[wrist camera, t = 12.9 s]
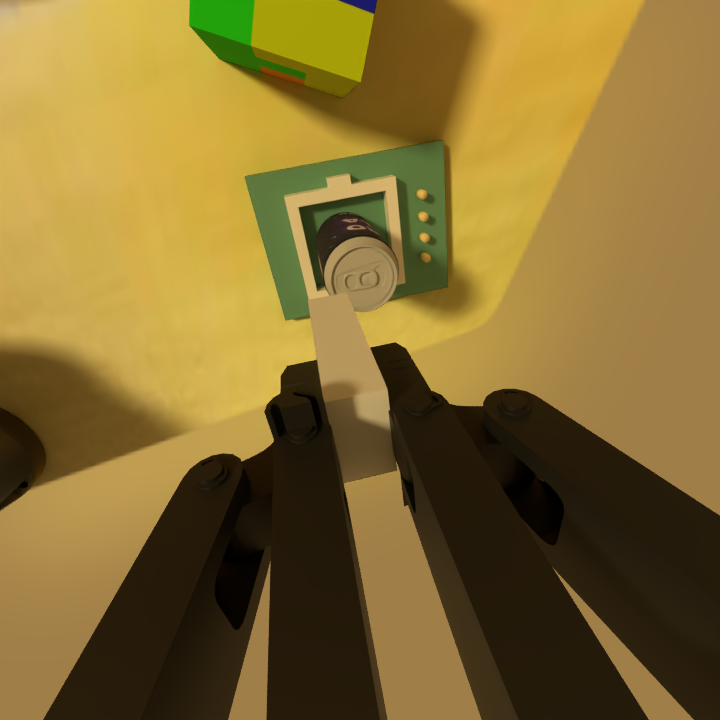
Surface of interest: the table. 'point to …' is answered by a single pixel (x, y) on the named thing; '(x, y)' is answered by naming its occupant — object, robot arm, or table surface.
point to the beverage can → (356, 261)
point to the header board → (365, 198)
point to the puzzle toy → (290, 38)
